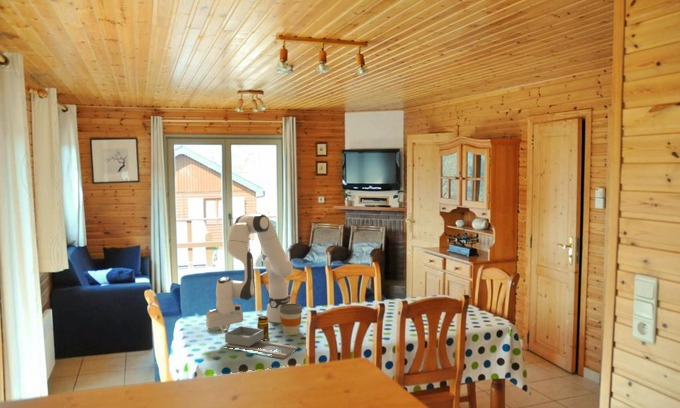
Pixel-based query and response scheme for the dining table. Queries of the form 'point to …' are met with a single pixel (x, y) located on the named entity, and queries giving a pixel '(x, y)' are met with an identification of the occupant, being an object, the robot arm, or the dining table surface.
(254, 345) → the rail track
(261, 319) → the condiment
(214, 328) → the lumpy-topped squat cylinder
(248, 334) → the tray
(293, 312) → the reusable coffee cup
